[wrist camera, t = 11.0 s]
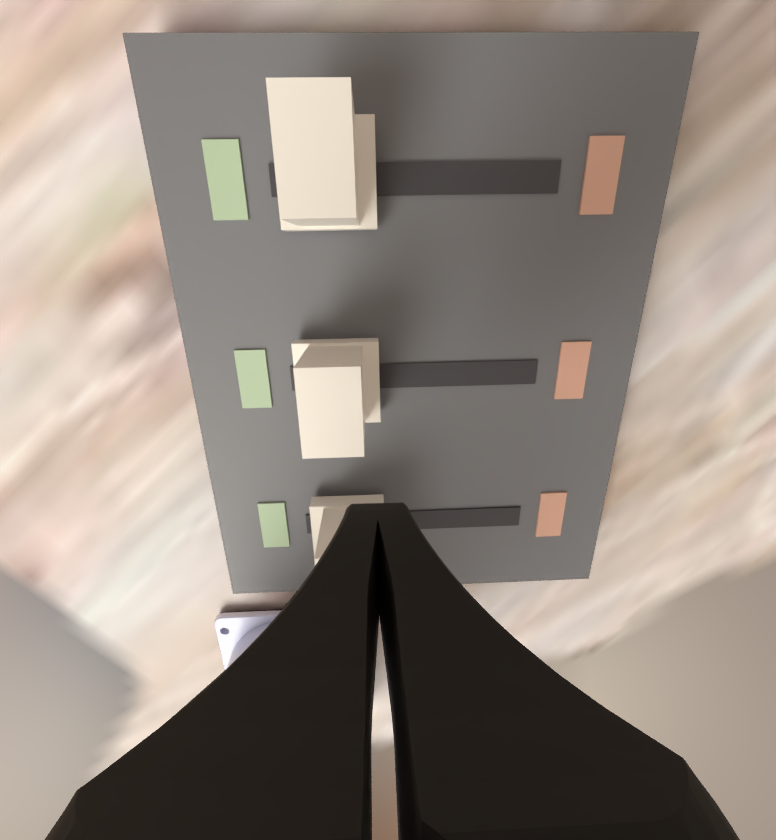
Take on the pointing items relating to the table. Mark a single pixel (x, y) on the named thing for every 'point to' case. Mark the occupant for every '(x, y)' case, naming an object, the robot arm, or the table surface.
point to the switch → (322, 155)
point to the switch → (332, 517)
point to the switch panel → (420, 279)
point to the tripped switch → (336, 394)
